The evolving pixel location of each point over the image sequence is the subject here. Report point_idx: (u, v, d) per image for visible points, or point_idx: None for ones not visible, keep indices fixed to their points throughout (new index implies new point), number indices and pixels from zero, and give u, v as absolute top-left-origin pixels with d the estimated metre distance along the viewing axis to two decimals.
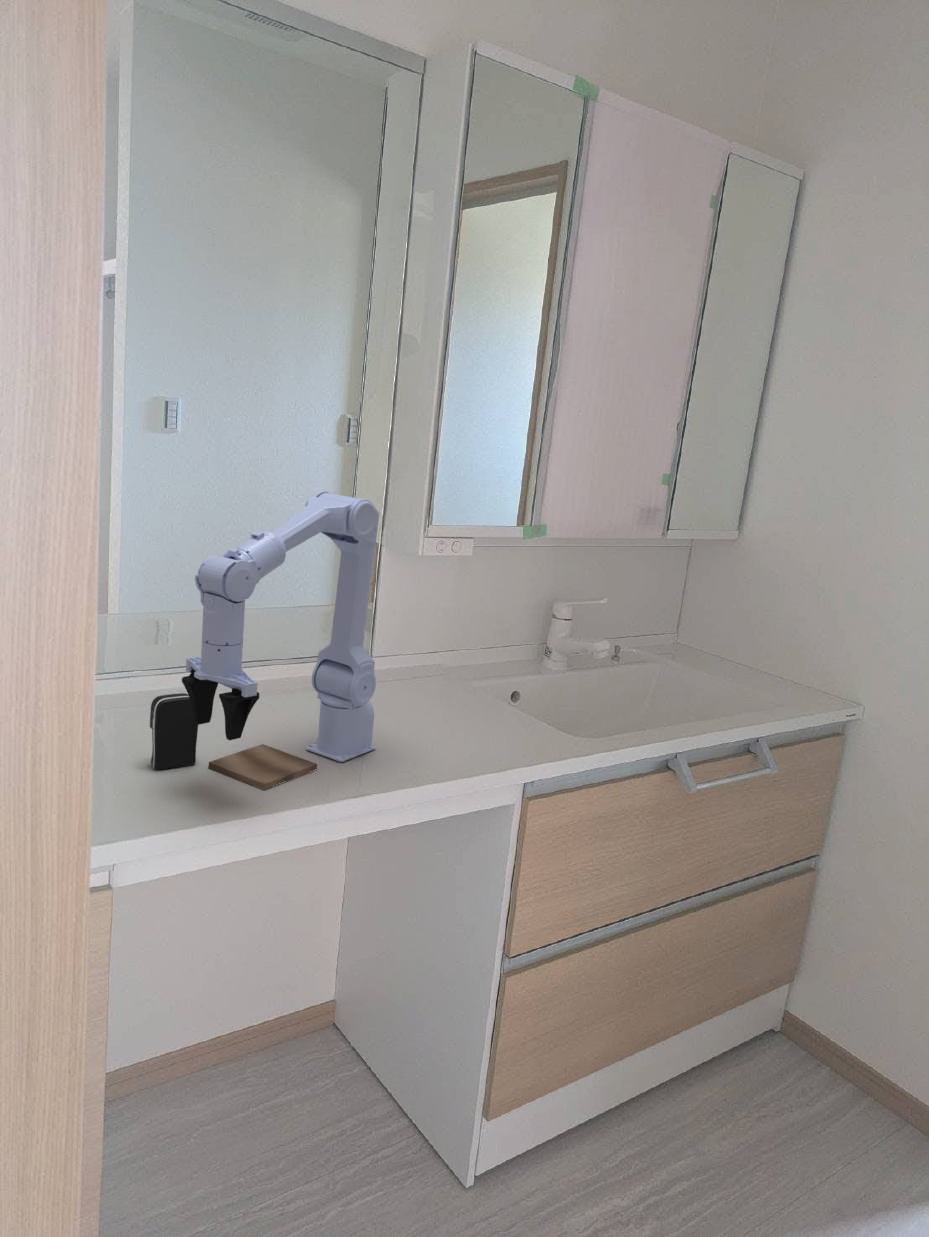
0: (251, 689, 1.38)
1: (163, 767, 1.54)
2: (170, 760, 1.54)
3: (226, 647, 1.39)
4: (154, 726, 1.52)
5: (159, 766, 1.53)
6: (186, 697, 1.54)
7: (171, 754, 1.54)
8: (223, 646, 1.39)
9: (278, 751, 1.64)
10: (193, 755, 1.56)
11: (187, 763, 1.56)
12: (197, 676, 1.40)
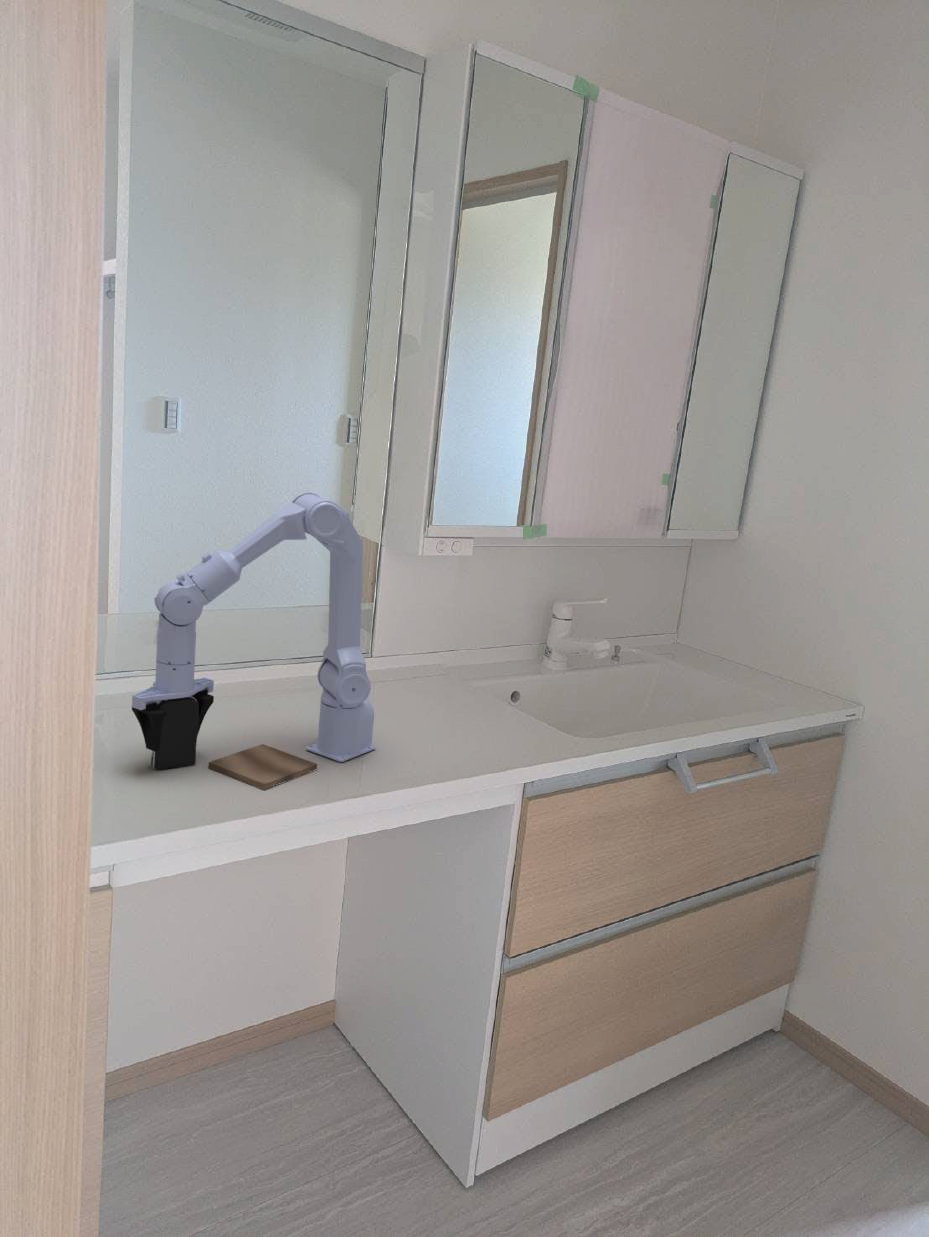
0: (136, 702, 1.48)
1: (163, 767, 1.54)
2: (170, 760, 1.54)
3: (157, 662, 1.51)
4: None
5: (159, 766, 1.53)
6: (186, 697, 1.54)
7: (171, 754, 1.54)
8: (156, 660, 1.51)
9: (278, 751, 1.64)
10: (193, 755, 1.56)
11: (187, 763, 1.56)
12: None
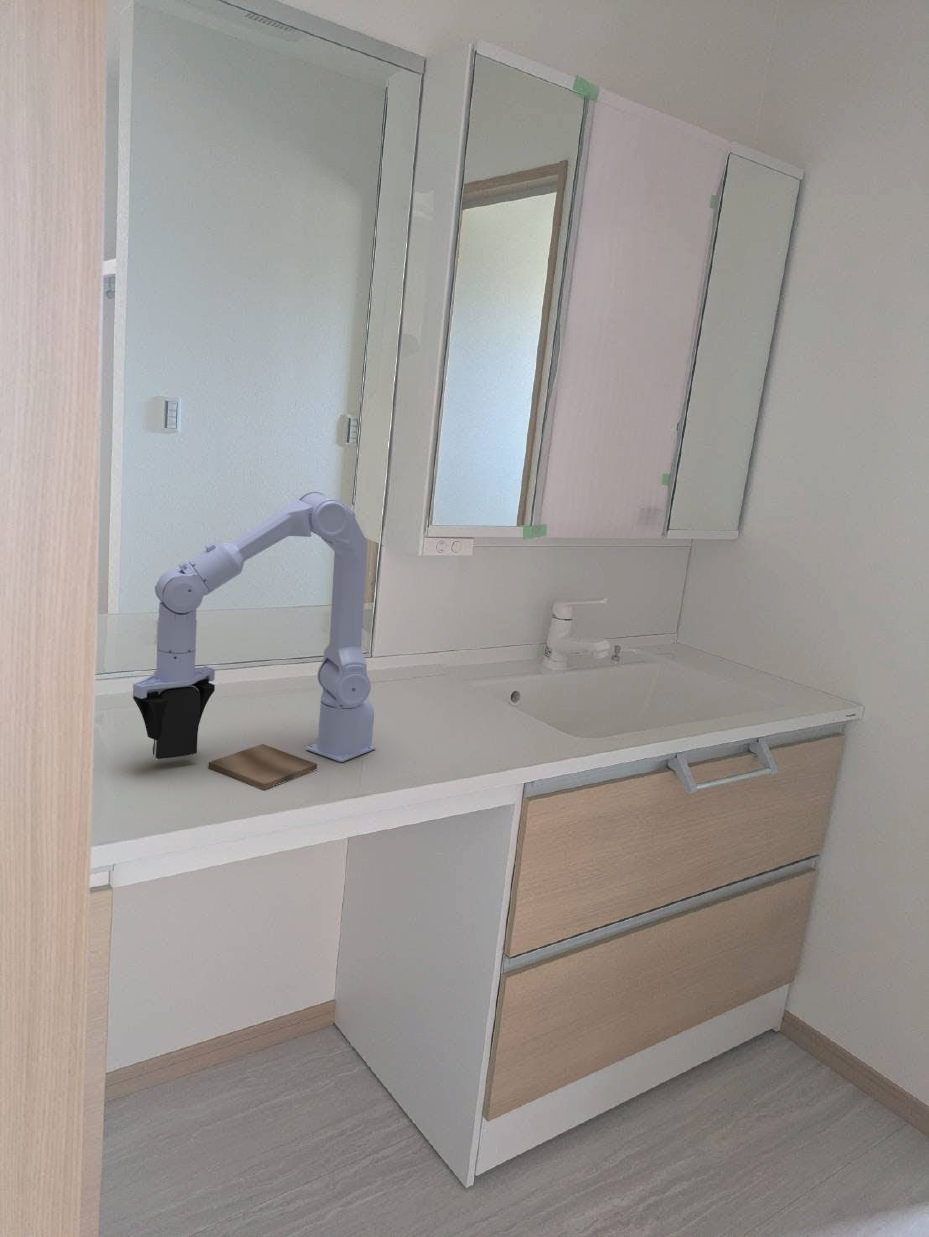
0: (137, 690, 1.47)
1: (165, 757, 1.53)
2: (172, 750, 1.54)
3: (157, 651, 1.51)
4: None
5: (161, 755, 1.53)
6: (187, 686, 1.54)
7: (173, 743, 1.54)
8: (157, 649, 1.51)
9: (278, 751, 1.64)
10: (194, 745, 1.56)
11: (188, 753, 1.56)
12: None
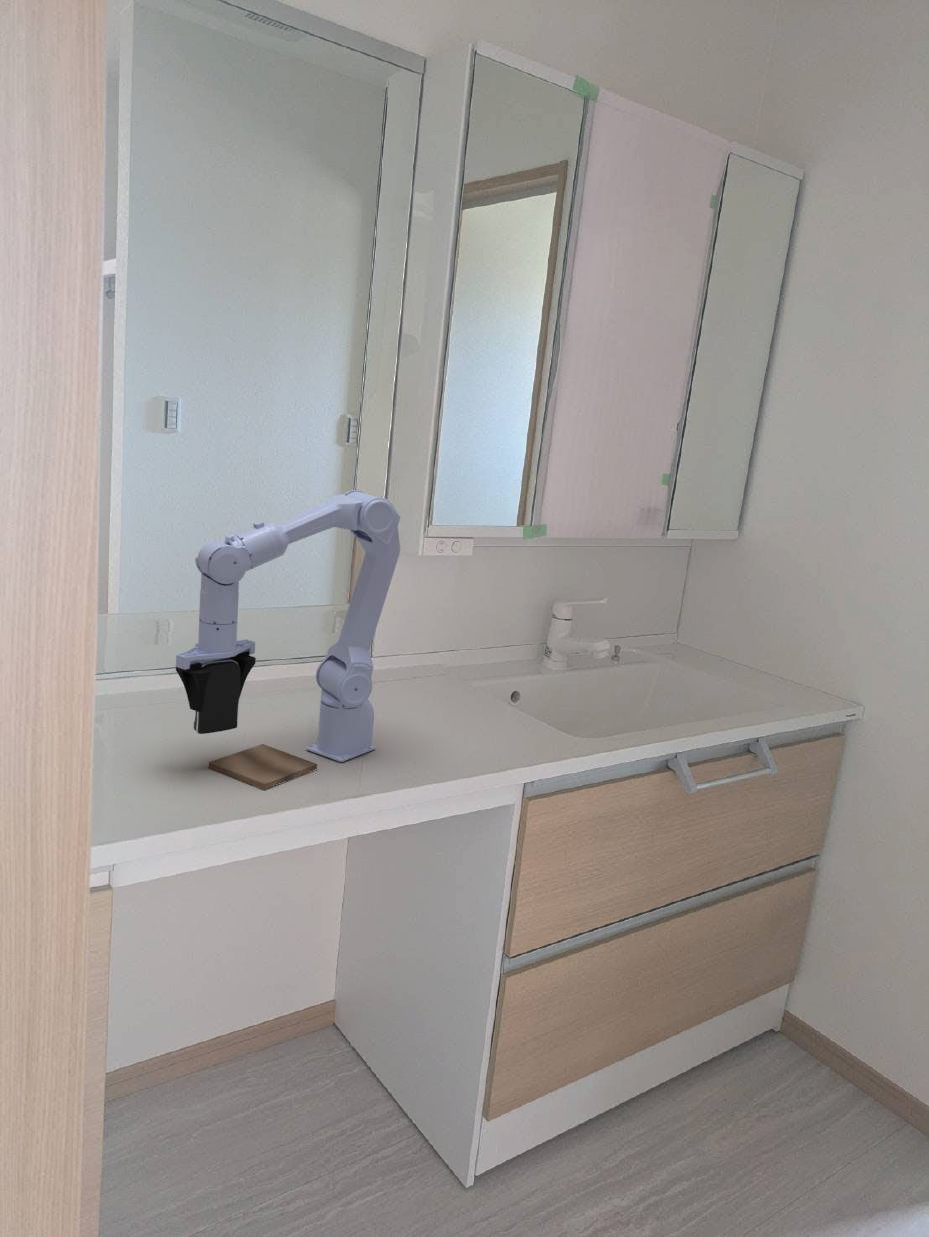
0: (180, 661, 1.47)
1: (207, 731, 1.54)
2: (213, 724, 1.54)
3: (200, 622, 1.51)
4: None
5: (203, 730, 1.53)
6: (228, 661, 1.54)
7: (214, 718, 1.54)
8: (199, 621, 1.51)
9: (278, 751, 1.64)
10: (235, 719, 1.56)
11: (229, 727, 1.56)
12: None
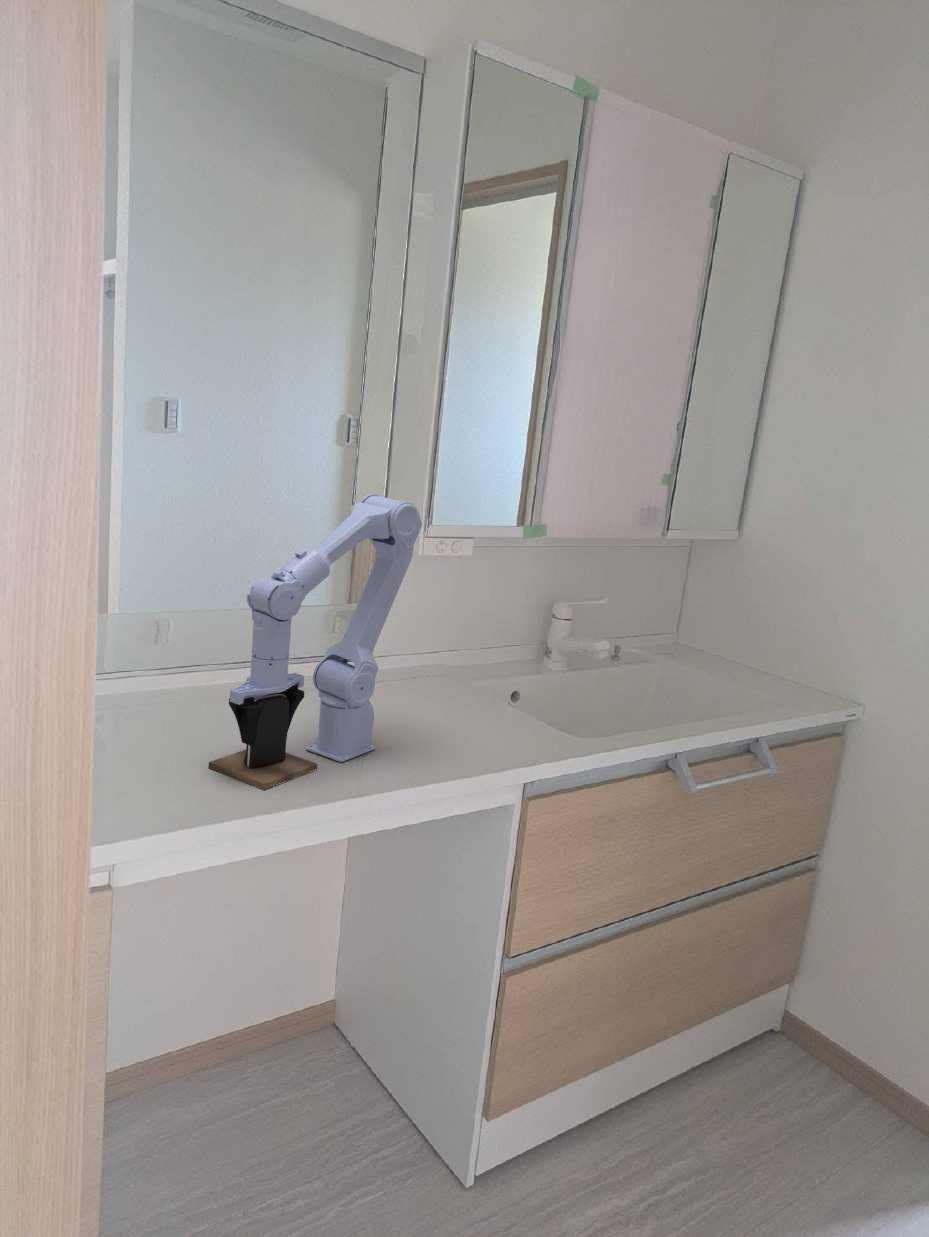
0: (234, 696, 1.49)
1: (258, 765, 1.56)
2: (264, 758, 1.56)
3: (252, 657, 1.53)
4: None
5: (254, 764, 1.55)
6: (278, 695, 1.56)
7: (265, 752, 1.56)
8: (252, 656, 1.53)
9: None
10: (283, 752, 1.59)
11: (278, 760, 1.58)
12: (249, 677, 1.57)
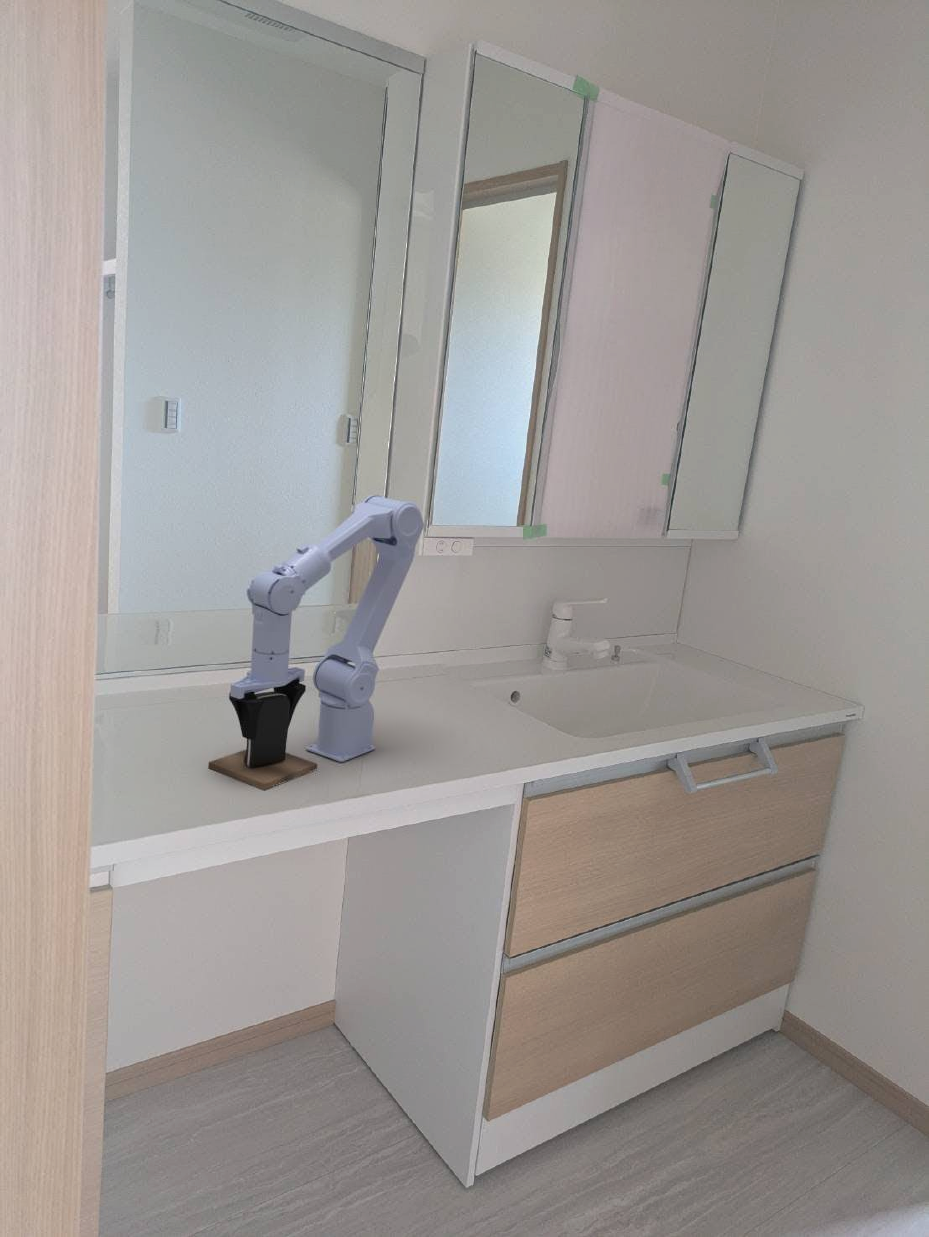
0: (235, 691, 1.49)
1: (258, 765, 1.56)
2: (264, 757, 1.56)
3: (253, 652, 1.53)
4: None
5: (254, 764, 1.55)
6: (279, 695, 1.56)
7: (265, 752, 1.56)
8: (252, 650, 1.53)
9: None
10: (283, 752, 1.59)
11: (278, 760, 1.58)
12: (250, 672, 1.57)
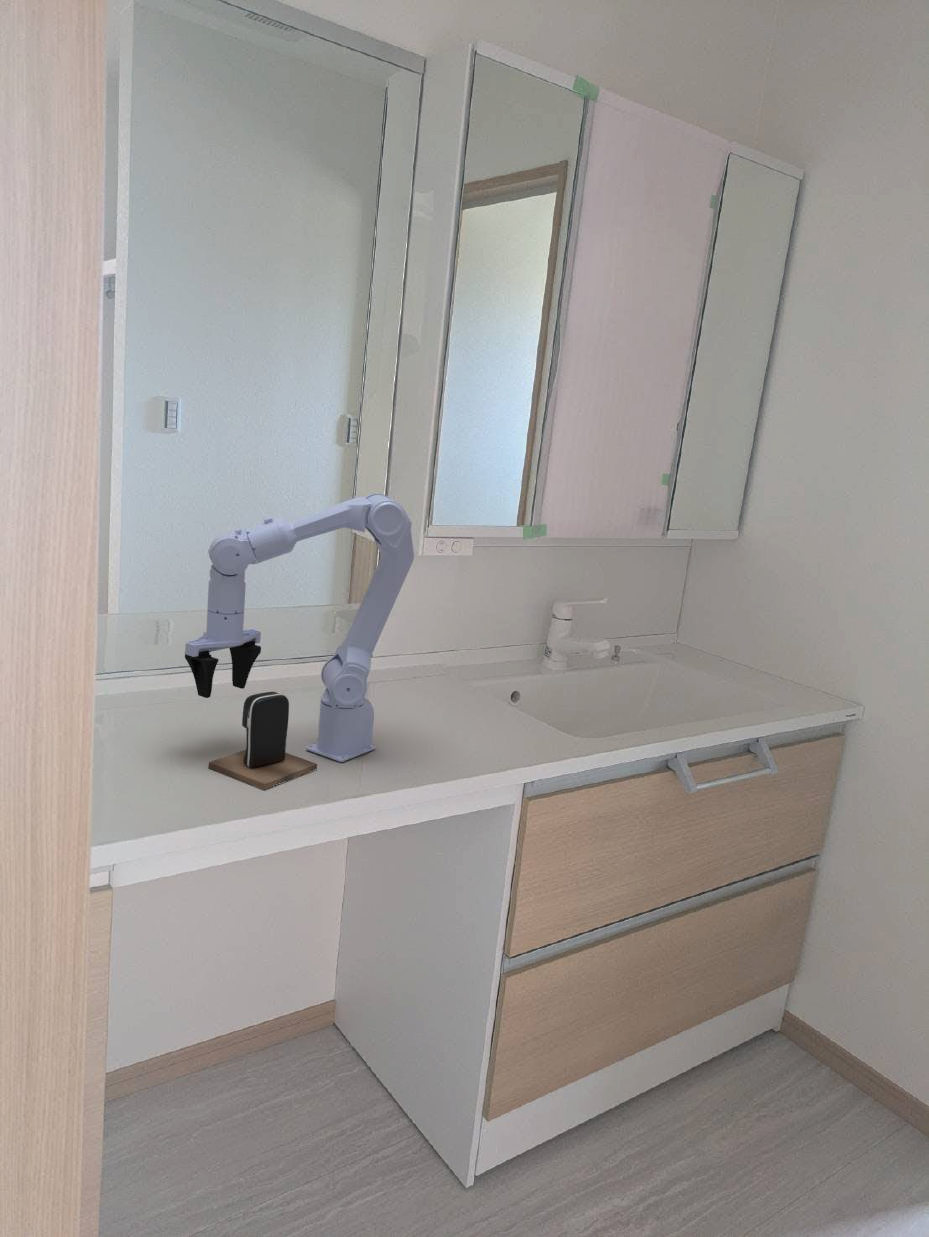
0: (189, 649, 1.53)
1: (258, 765, 1.56)
2: (264, 758, 1.56)
3: (208, 612, 1.57)
4: (250, 725, 1.54)
5: (254, 764, 1.55)
6: (278, 695, 1.56)
7: (265, 752, 1.56)
8: (207, 610, 1.57)
9: None
10: (283, 752, 1.59)
11: (278, 760, 1.58)
12: None
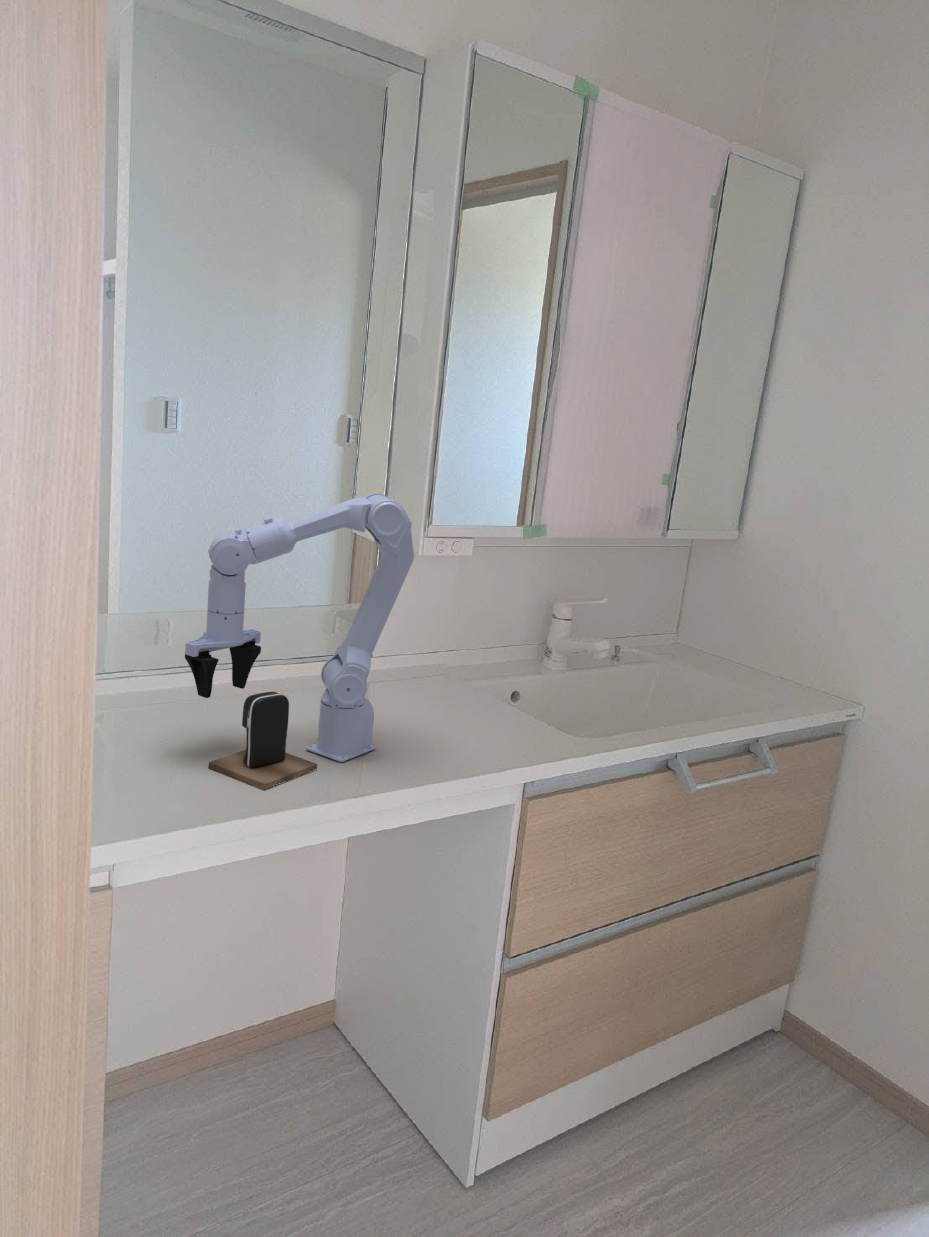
0: (189, 649, 1.53)
1: (258, 765, 1.56)
2: (264, 758, 1.56)
3: (208, 612, 1.57)
4: (250, 725, 1.54)
5: (254, 764, 1.55)
6: (278, 695, 1.56)
7: (265, 752, 1.56)
8: (207, 610, 1.57)
9: None
10: (283, 752, 1.59)
11: (278, 760, 1.58)
12: None
